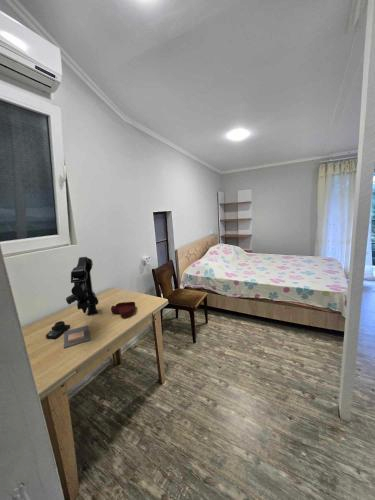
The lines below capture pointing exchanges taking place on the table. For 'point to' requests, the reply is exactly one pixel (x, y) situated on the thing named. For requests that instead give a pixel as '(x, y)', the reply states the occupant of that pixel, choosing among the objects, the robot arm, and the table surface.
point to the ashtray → (124, 308)
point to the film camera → (57, 330)
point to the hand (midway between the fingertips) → (84, 312)
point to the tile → (76, 336)
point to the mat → (84, 328)
